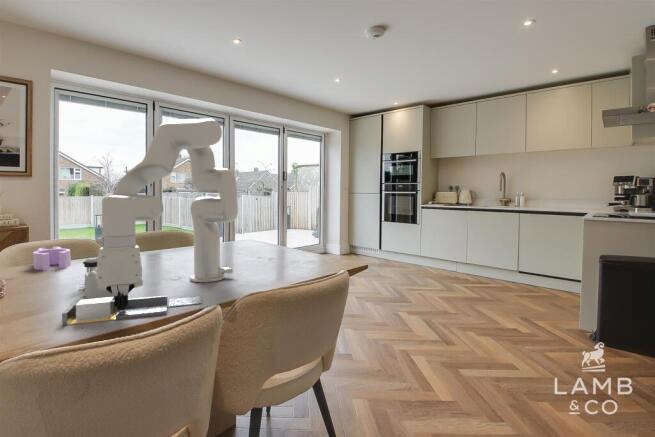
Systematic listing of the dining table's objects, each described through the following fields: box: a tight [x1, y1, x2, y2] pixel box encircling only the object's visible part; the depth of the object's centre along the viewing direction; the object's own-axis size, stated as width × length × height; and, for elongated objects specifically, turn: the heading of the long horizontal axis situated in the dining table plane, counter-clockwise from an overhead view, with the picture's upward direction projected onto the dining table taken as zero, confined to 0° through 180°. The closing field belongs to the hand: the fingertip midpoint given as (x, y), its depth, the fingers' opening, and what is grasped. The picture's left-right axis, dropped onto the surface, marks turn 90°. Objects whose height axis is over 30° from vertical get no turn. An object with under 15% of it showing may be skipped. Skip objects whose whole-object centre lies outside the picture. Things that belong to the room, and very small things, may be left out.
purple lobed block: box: [32, 246, 72, 272], centre depth 151 cm, size 20×12×7 cm, turn 44°
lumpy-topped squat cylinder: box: [84, 268, 124, 300], centre depth 110 cm, size 10×13×9 cm
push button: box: [79, 257, 98, 289], centre depth 119 cm, size 7×5×10 cm
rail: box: [61, 295, 168, 326], centre depth 94 cm, size 24×8×3 cm, turn 113°
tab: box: [168, 295, 202, 308], centre depth 106 cm, size 9×7×1 cm
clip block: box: [75, 297, 114, 322], centre depth 91 cm, size 8×4×4 cm, turn 114°
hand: (121, 308), depth 94 cm, fingers closed
